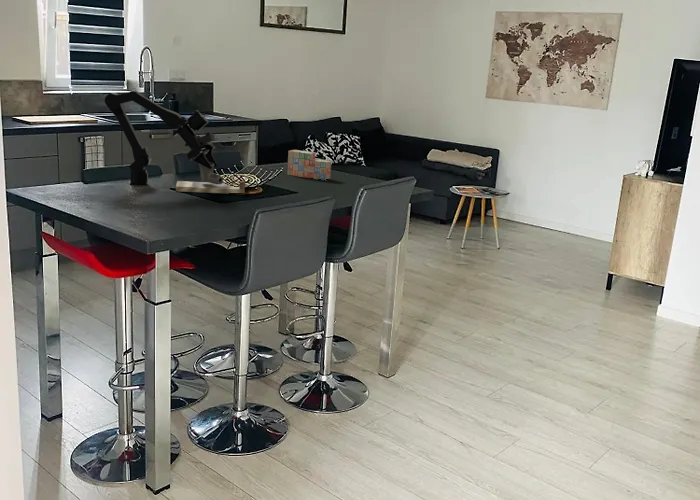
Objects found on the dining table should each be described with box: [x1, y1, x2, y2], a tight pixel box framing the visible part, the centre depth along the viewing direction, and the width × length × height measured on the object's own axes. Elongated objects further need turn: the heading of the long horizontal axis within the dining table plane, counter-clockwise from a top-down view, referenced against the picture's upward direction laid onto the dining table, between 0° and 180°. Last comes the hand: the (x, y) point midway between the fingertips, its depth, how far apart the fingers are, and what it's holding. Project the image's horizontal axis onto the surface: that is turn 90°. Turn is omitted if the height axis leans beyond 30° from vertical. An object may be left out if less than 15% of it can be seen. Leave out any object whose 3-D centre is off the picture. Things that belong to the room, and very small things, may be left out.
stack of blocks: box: [286, 149, 332, 181], centre depth 344 cm, size 21×6×12 cm, turn 65°
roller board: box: [175, 180, 246, 194], centre depth 294 cm, size 28×12×5 cm, turn 101°
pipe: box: [198, 162, 224, 184], centre depth 292 cm, size 6×13×8 cm, turn 52°
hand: (213, 167), depth 291 cm, fingers closed on pipe, 6 cm apart
